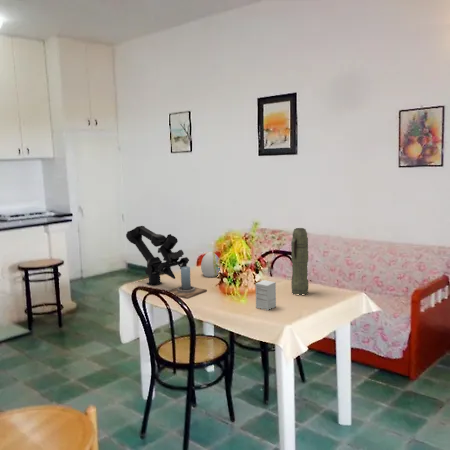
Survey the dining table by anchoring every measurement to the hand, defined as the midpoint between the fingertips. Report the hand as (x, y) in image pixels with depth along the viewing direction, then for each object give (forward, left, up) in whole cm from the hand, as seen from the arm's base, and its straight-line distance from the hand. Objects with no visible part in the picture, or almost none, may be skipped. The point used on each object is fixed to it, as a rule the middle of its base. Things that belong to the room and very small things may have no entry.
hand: (181, 276), depth 270 cm
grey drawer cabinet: (+54, +3, -9) cm, 55 cm away
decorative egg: (-8, +36, -9) cm, 37 cm away
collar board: (+4, 0, -8) cm, 9 cm away
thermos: (+56, +33, -9) cm, 65 cm away
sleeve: (+4, 0, -7) cm, 8 cm away
